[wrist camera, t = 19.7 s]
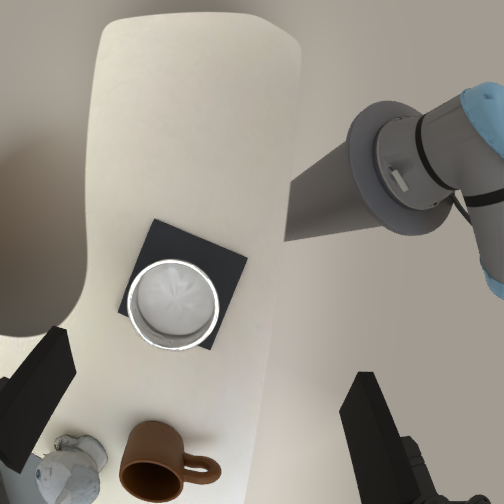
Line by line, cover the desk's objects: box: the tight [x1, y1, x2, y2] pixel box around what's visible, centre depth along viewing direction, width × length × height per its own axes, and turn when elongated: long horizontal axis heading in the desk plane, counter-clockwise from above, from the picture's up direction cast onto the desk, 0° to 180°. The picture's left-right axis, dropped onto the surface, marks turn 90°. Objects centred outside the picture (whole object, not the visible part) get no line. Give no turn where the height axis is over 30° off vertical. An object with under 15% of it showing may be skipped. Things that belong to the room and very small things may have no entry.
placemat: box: [118, 219, 248, 350], centre depth 36 cm, size 12×12×1 cm
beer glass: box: [127, 256, 219, 351], centre depth 28 cm, size 7×7×15 cm
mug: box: [119, 422, 221, 503], centre depth 31 cm, size 12×8×9 cm, turn 91°
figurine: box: [35, 435, 108, 504], centre depth 25 cm, size 10×9×15 cm
